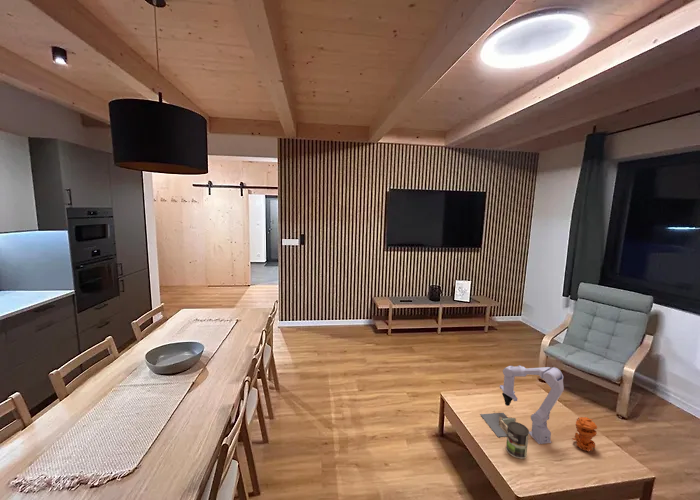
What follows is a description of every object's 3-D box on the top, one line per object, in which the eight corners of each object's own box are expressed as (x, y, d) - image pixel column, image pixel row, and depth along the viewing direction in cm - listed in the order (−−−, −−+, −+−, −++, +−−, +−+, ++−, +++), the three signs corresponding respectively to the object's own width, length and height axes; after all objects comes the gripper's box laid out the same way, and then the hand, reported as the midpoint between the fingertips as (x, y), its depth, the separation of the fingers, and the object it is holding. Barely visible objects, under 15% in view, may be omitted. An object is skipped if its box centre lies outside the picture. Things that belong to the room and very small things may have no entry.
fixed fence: (510, 435, 180) (510, 427, 179) (507, 435, 180) (508, 427, 179) (500, 424, 189) (501, 416, 189) (498, 424, 189) (498, 416, 188)
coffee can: (517, 461, 162) (519, 436, 160) (501, 447, 171) (503, 424, 170) (531, 455, 165) (533, 432, 164) (515, 442, 175) (517, 419, 173)
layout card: (523, 435, 180) (523, 434, 180) (498, 437, 179) (498, 436, 179) (503, 413, 200) (503, 412, 200) (480, 415, 199) (480, 414, 199)
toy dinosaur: (586, 456, 165) (589, 426, 163) (567, 442, 175) (570, 413, 173) (601, 452, 168) (605, 422, 166) (582, 438, 178) (584, 409, 176)
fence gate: (502, 425, 188) (503, 419, 187) (501, 423, 189) (501, 418, 189) (515, 424, 189) (516, 419, 188) (514, 422, 190) (515, 417, 189)
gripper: (522, 391, 186) (521, 411, 187) (507, 378, 200) (505, 397, 202) (511, 392, 185) (510, 412, 186) (497, 379, 199) (496, 398, 201)
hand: (507, 405), depth 194 cm, fingers closed
